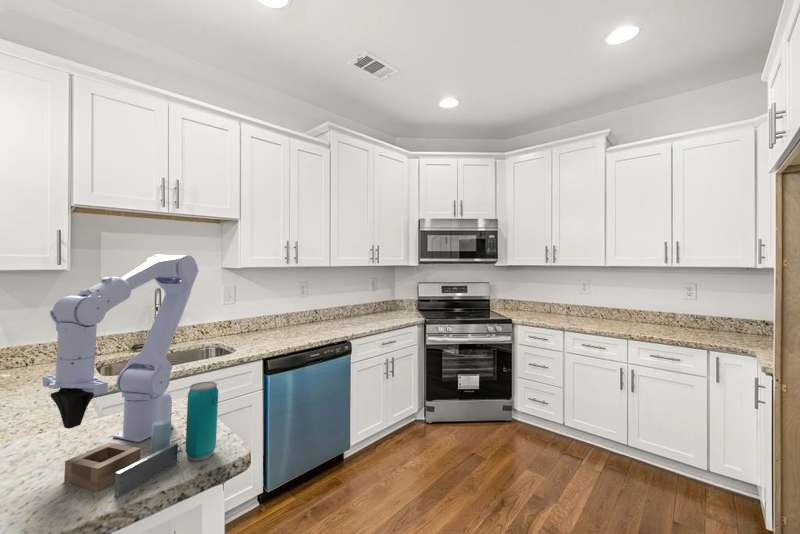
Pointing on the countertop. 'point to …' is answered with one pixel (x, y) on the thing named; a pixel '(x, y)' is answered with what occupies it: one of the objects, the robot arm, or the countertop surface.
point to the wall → (145, 469)
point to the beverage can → (201, 420)
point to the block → (99, 465)
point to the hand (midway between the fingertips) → (72, 426)
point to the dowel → (160, 435)
